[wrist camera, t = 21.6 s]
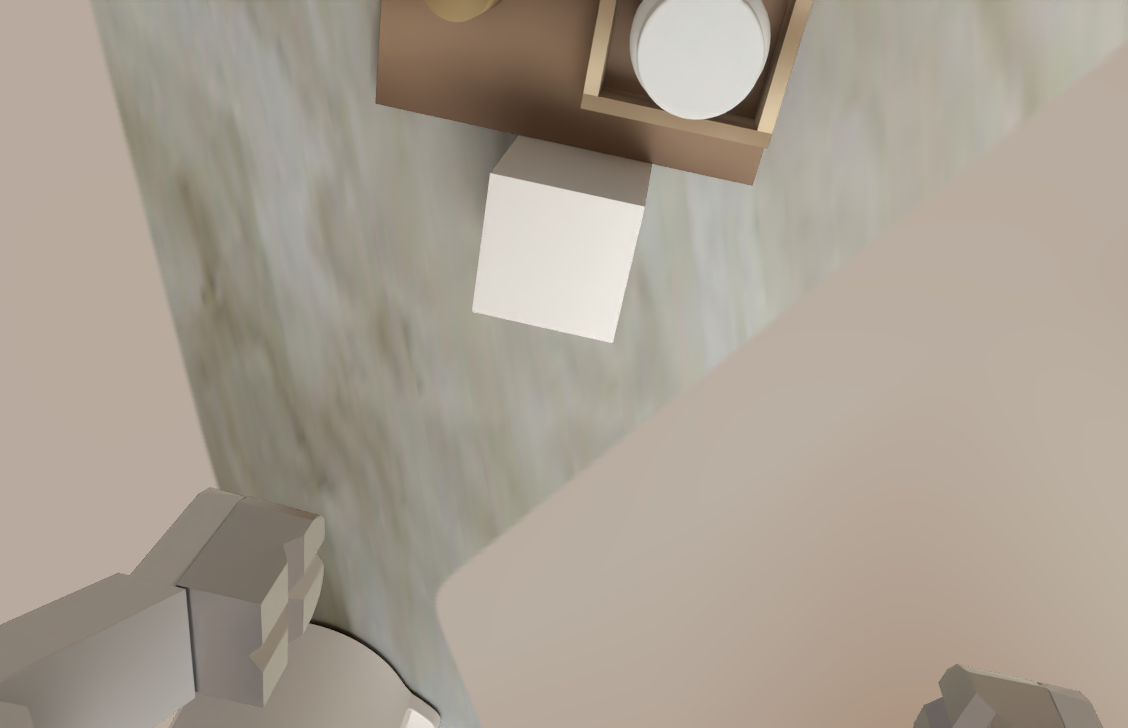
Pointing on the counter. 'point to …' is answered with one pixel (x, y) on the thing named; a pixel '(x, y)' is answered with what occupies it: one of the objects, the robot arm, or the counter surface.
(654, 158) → the board
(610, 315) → the block
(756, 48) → the pill bottle
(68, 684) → the robot arm
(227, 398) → the counter surface
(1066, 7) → the counter surface
